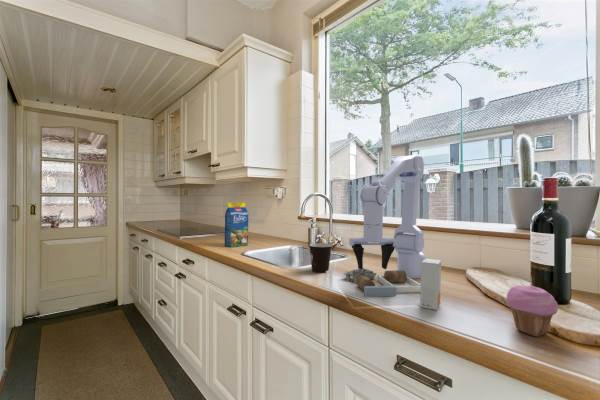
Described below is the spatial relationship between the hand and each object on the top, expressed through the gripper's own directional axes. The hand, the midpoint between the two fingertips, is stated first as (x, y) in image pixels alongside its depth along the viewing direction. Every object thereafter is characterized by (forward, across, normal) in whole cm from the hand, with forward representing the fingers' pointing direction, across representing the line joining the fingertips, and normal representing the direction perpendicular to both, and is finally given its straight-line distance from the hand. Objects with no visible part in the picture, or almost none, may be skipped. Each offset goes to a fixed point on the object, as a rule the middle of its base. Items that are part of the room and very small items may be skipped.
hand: (372, 268), depth 93 cm
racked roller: (+6, +10, +6) cm, 13 cm away
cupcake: (+7, +24, -31) cm, 40 cm away
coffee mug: (+7, -11, +27) cm, 30 cm away
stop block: (+7, 0, -6) cm, 9 cm away
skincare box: (+7, +11, -14) cm, 19 cm away
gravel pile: (+7, 0, +11) cm, 13 cm away
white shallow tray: (+7, +10, +2) cm, 12 cm away
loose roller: (+6, 0, 0) cm, 6 cm away
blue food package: (+7, -49, +88) cm, 101 cm away
